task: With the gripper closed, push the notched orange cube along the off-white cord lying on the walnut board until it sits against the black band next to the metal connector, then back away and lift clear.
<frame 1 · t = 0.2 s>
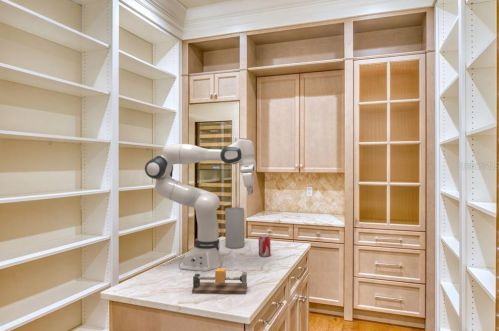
hand: (250, 194, 175), 39 cm above the counter, tool pointing down, fingers open, 8 cm apart
cord board: (228, 289, 144), on the counter
cylinder vase: (235, 246, 218), on the counter
notched orange cube: (220, 275, 144), point 6 cm above the counter, slide at 0.0 cm
soda can: (264, 256, 196), on the counter
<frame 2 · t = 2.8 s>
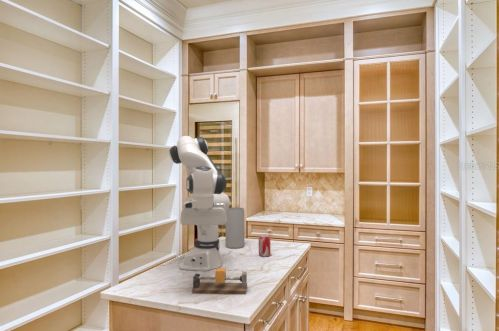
hand: (204, 234, 144), 24 cm above the counter, tool pointing down, fingers closed
nothing on the counter moved.
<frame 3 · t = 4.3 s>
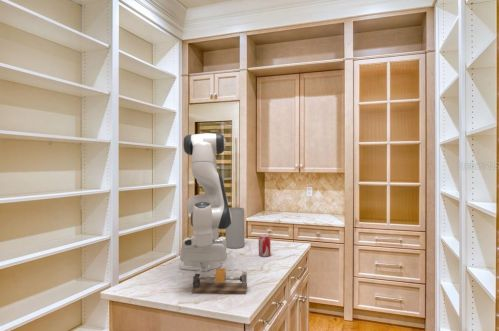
hand: (204, 271, 144), 8 cm above the counter, tool pointing down, fingers closed
nothing on the counter moved.
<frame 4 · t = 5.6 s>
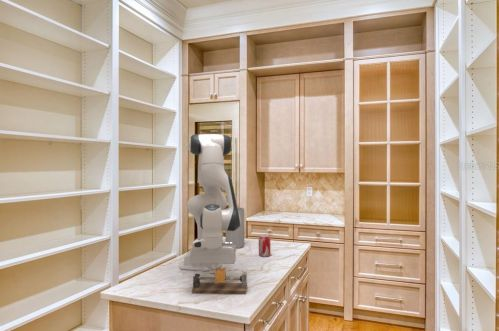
hand: (212, 273, 144), 7 cm above the counter, tool pointing down, fingers closed
notched orange cube: (220, 275, 144), point 6 cm above the counter, slide at 0.1 cm, touching gripper
everything else where it was.
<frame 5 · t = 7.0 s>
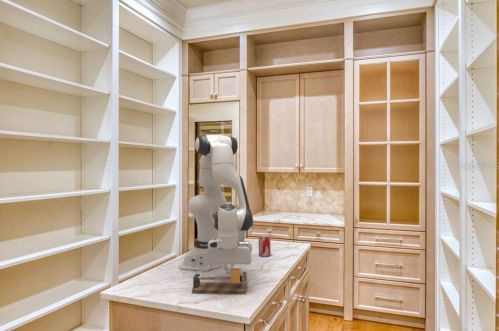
hand: (228, 273, 144), 7 cm above the counter, tool pointing down, fingers closed
notched orange cube: (235, 275, 144), point 6 cm above the counter, slide at 6.7 cm, touching cord board, gripper
everything else where it was.
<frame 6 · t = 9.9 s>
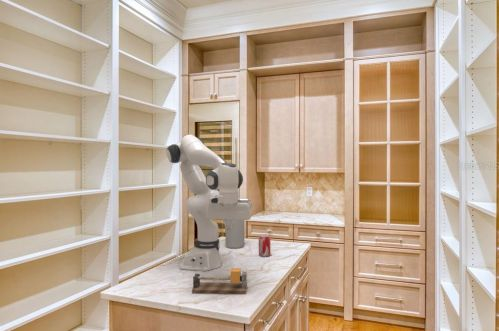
hand: (228, 229, 149), 26 cm above the counter, tool pointing down, fingers closed
notched orange cube: (235, 275, 144), point 6 cm above the counter, slide at 6.7 cm
everything else where it was.
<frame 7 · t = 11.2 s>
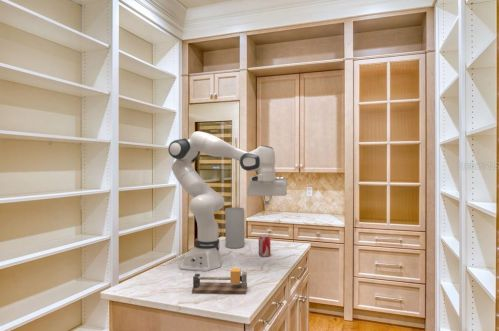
hand: (267, 204, 167), 34 cm above the counter, tool pointing down, fingers closed
nothing on the counter moved.
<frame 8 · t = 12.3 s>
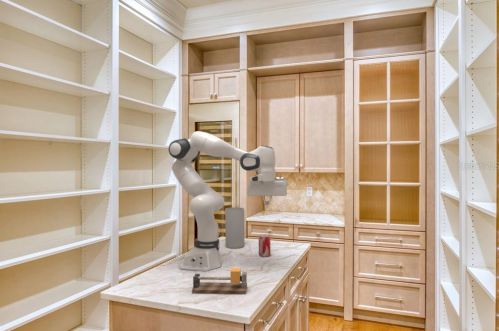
hand: (267, 204, 167), 34 cm above the counter, tool pointing down, fingers closed
nothing on the counter moved.
at the end: notched orange cube slide at 6.7 cm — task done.
